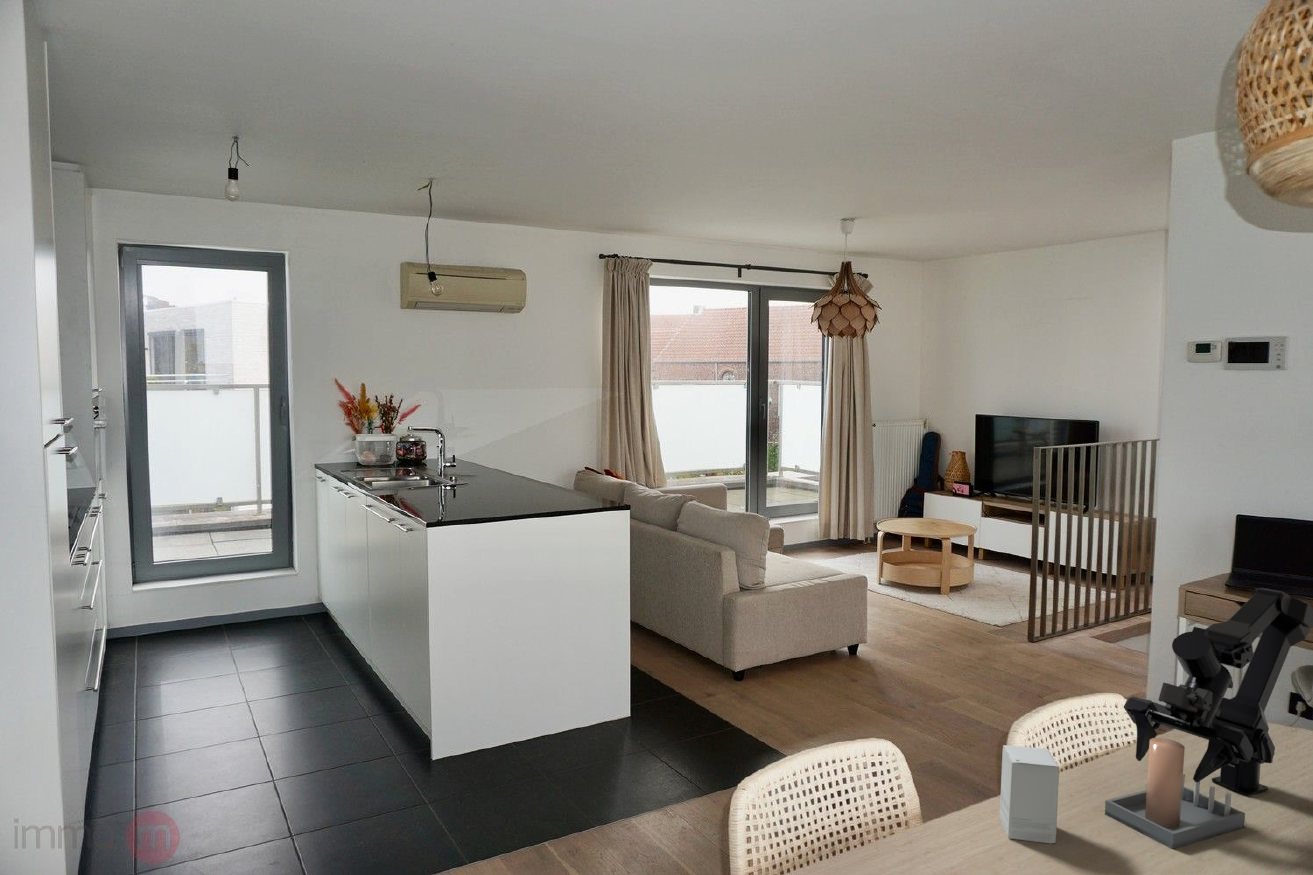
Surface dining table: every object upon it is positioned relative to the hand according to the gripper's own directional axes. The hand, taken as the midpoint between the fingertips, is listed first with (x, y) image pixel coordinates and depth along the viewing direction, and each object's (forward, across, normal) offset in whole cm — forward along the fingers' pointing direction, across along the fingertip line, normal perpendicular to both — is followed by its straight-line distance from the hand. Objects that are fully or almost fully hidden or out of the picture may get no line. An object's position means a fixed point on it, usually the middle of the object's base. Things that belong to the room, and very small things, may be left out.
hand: (1165, 769), depth 144 cm
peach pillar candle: (+6, 0, +6) cm, 9 cm away
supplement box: (+22, -10, -9) cm, 26 cm away
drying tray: (+5, 0, +8) cm, 10 cm away
